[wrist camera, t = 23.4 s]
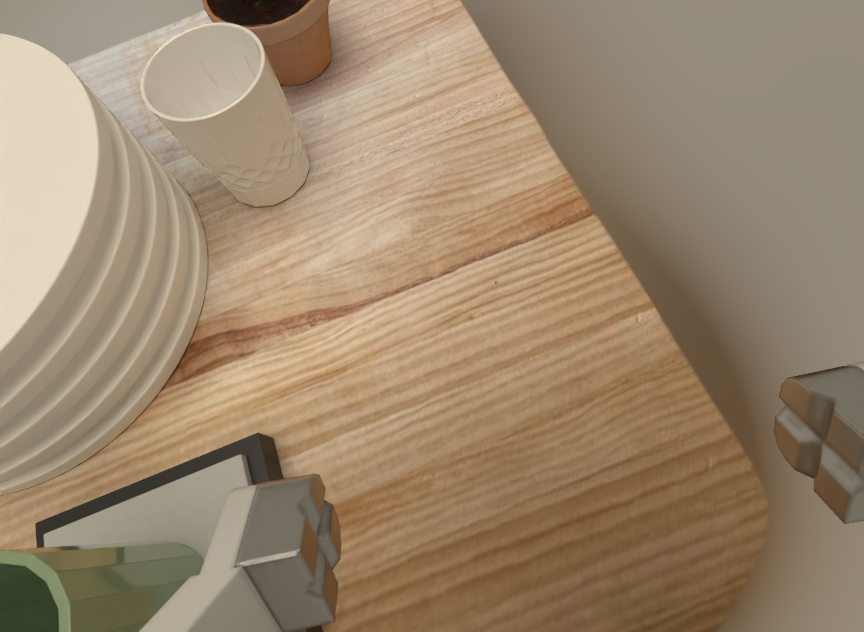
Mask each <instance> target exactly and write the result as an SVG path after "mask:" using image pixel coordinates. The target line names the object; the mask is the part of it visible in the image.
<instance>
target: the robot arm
mask: <svg viewBox="0 0 864 632" xmlns="http://www.w3.org/2000/svg"><path fill="white" fill-rule="evenodd" d="M779 397H780V398H781V400H782V401H783V402H784V403H785V404H786V405H785V407H784V408H783V409H782V410H781V411H780V412H779V413H778V414H777V415H776V416H775V424H774V435H775V438H776V442H777V446H778V448H779V449H780V451H781V453H782V455H783V456H784V458H785V459H786V460H787V462H788V463H789V464H790V465H791V466H792V467H793V468H794V469H795V470H796V471H798V472H801V473H803V474H805V475H807V476H809V477H811V478H814V491H815V493H816V494H817V495H818V496H819V497H820V498H821V499H822V500H823V501H824V502H825V503H826V504H827V505H828V507H829V508H830V509H831V510H832V511H833V512H834V513H835V514H836V515H837V516H838V517H839V519H840V520H841V521H842V522H843V523H844V524H848V523H854V522H860V521H864V362H860V363H855V364H850V365H847V366H842V367H837V368H833V369H827V370H823V371H818V372H813V373H808V374H804V375H799V376H794V377H790V378H787V379H786V380H785V381H784V383H783V384H782V385H781V390H780V395H779ZM324 496H325V486H324V484H323V481H322V479H321V477H320V475H318V474H310V475H304V476H298V477H293V478H287V479H281V480H276V481H270V482H264V483H260V484H257V485H251V486H245V487H239V488H233V489H232V490H231V491H230V492H229V493H228V495H227V496H226V498H225V501H224V504H223V507H222V510H221V513H220V516H219V519H218V522H217V525H216V528H215V531H214V533H213V536H212V539H211V542H210V545H209V548H208V551H207V554H206V557H205V560H204V563H203V566H202V568H201V571H200V574H199V575H195V576H191V577H190V578H189V579H188V580H187V581H186V582H185V583H184V584H183V585H182V586H181V587H180V588H179V589H178V590H177V591H176V593H175V594H174V595H173V596H172V597H171V598H170V599H169V600H168V601H167V602H166V603H165V604H164V605H163V606H162V607H161V609H160V610H159V611H158V612H157V613H156V614H155V615H154V616H153V617H152V618H151V619H150V620H149V621H148V622H147V623H146V625H145V626H144V627H143V628H142V629H141V630H140V631H139V632H293V631H297V630H302V629H306V628H311V627H315V626H320V625H324V624H329V623H333V622H335V612H336V601H337V590H338V582H337V580H336V578H335V576H334V574H333V571H332V570H333V569H334V567H335V566H336V564H337V563H338V562H339V560H340V555H341V534H340V525H339V521H338V517H337V514H336V511H335V509H334V506H333V505H332V504H331V503H329V502H327V501H325V500H324Z"/></svg>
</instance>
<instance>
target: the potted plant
mask: <svg viewBox="0 0 864 632" xmlns="http://www.w3.org/2000/svg"><path fill="white" fill-rule="evenodd" d="M202 1H203V5H204V9H205V11H206V12H207V14H208V16H209V17H210V19H211V20H212V22H213V23H215V22H225V23H233V24H237V25H240V26H243V27H245V28H247V29H249V30H250V31H252V32H253V33H254V34H255V35H256V36H257V37H258V38H259V40H260V41H261V43H262V45H263V48H264V50H265V52H266V55H267V57H268V59H269V61H270V64H271V66H272V68H273V70H274V73H275V75H276V77H277V79H278V82H279V84H280V85H285V86H295V85H300V84H304V83H306V82H309V81H311V80H313V79H314V78H316V77H318V76H319V75H321V73H322V72H323V71H324V69H325V68H326V67H327V65H328V64H329V63H330V60H331V56H332V54H331V43H330V35H329V24H328V4H329V2H330V0H202Z"/></svg>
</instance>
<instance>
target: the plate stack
mask: <svg viewBox="0 0 864 632" xmlns="http://www.w3.org/2000/svg"><path fill="white" fill-rule="evenodd" d="M207 274H208V253H207V244H206V237H205V232H204V229H203V225H202V222H201V219H200V216H199V214H198V211H197V209H196V207H195V205H194V203H193V202H192V200H191V198H190V197H189V195H188V194H187V192H186V191H185V190H184V188H183V187H182V186H181V185H180V184H179V183H178V181H177V180H176V179H175V178H174V177H173V176H172V175H171V174H170V173H169V172H168V171H167V170H166V169H165V168H164V167H163V166H162V165H161V164H160V163H159V161H158V160H157V159H156V158H155V157H154V156H153V155H152V154H151V153H150V152H149V151H148V150H147V149H146V148H145V147H144V146H143V145H142V144H141V143H140V142H139V140H138V139H137V138H136V137H135V136H134V135H133V134H132V133H131V132H130V131H129V130H128V129H127V128H126V127H125V126H124V125H123V124H122V123H121V122H120V121H119V120H118V119H117V118H116V116H115V115H114V114H113V113H112V112H111V111H110V110H109V109H108V108H107V107H106V105H105V104H104V103H103V102H102V101H101V100H100V99H99V98H98V97H97V96H96V95H95V94H93V93H92V92H91V91H90V89H89V88H88V87H87V86H86V85H85V83H84V82H83V81H82V80H81V79H80V78H79V77H78V76H77V75H76V74H75V73H74V72H73V71H72V70H71V69H70V68H69V67H68V66H67V65H66V64H65V63H64V62H63V61H62V60H61V59H60V58H58V57H57V56H56V55H54V54H53V53H51V52H50V51H48V50H46V49H44V48H42V47H41V46H39V45H37V44H34V43H32V42H30V41H27V40H25V39H21V38H18V37H14V36H10V35H6V34H1V33H0V495H4V494H9V493H13V492H16V491H20V490H23V489H26V488H29V487H32V486H35V485H38V484H40V483H43V482H45V481H47V480H50V479H52V478H54V477H56V476H58V475H60V474H62V473H64V472H66V471H68V470H70V469H72V468H73V467H75V466H77V465H78V464H80V463H82V462H83V461H85V460H86V459H88V458H90V457H91V456H92V455H94V454H95V453H97V452H98V451H100V450H101V449H102V448H103V447H105V446H106V445H107V444H109V443H110V442H111V441H112V440H114V439H115V438H116V437H117V436H118V435H119V434H121V433H122V432H123V431H124V430H125V429H126V428H127V427H128V426H129V425H130V424H131V423H132V422H133V421H134V420H135V419H136V418H137V417H138V416H139V415H140V414H141V413H142V412H143V411H144V410H145V409H146V408H147V406H148V405H149V404H150V403H151V402H152V400H153V399H154V398H155V397H156V396H157V394H158V393H159V392H160V390H161V389H162V388H163V386H164V385H165V383H166V382H167V381H168V379H169V378H170V376H171V375H172V373H173V371H174V370H175V368H176V367H177V365H178V363H179V361H180V360H181V358H182V356H183V354H184V352H185V350H186V348H187V346H188V344H189V342H190V340H191V337H192V335H193V333H194V330H195V327H196V325H197V322H198V319H199V316H200V312H201V309H202V305H203V301H204V296H205V291H206V284H207Z"/></svg>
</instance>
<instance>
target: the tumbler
mask: <svg viewBox="0 0 864 632" xmlns="http://www.w3.org/2000/svg"><path fill="white" fill-rule="evenodd" d="M203 563H204V560H203V558H202V557H201V556H200V555H199V554H198V553H197V552H196V551H195V550H193V549H192V548H191V547H189V546H187V545H185V544H182V543H179V542H174V541H156V540H155V541H139V542H123V543H107V544H91V545H75V546H59V547H43V548H27V549H11V550H0V632H139V631H140V630H141V629H142V628H143V627H144V626H145V625H146V623H147V622H148V621H149V620H150V619H151V618H152V617H153V616H154V615H155V614H156V613H157V612H158V611H159V610H160V609H161V607H162V606H163V605H164V604H165V603H166V602H167V601H168V600H169V599H170V598H171V597H172V596H173V595H174V594H175V593H176V591H177V590H178V589H179V588H180V587H181V586H182V585H183V584H184V583H185V582H186V581H187V580H188V579H189V578H190V577H191V576H195V575H199V574H200V571H201V568H202V566H203Z"/></svg>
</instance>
